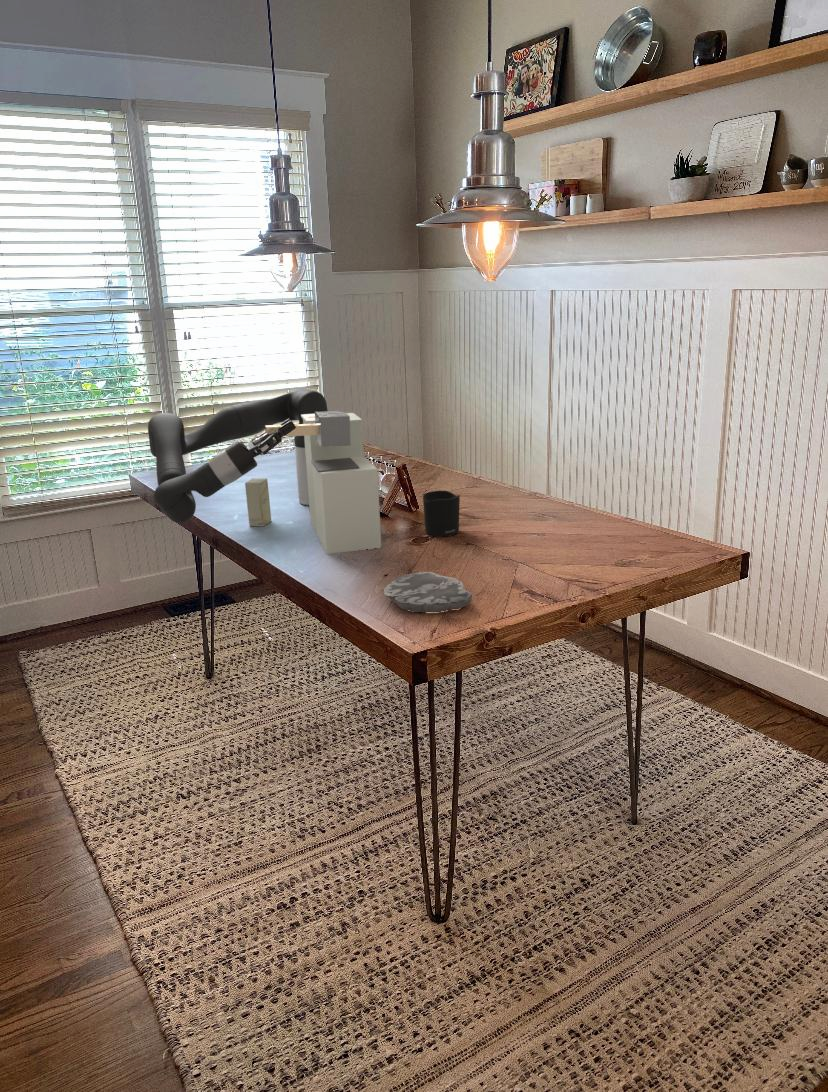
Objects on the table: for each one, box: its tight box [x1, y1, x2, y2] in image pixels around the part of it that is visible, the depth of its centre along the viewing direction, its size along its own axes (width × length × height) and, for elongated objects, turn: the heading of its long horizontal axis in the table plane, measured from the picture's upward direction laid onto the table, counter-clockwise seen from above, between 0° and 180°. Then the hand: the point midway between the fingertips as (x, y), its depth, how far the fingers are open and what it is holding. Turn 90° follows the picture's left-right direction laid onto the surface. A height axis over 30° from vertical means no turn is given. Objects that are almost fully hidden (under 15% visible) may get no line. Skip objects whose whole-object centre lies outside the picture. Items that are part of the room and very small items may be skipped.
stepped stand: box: [301, 412, 382, 555], centre depth 217 cm, size 14×28×30 cm, turn 15°
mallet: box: [264, 410, 350, 447], centre depth 205 cm, size 20×9×7 cm, turn 105°
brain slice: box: [382, 571, 473, 613], centre depth 175 cm, size 20×17×3 cm
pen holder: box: [422, 490, 461, 537], centre depth 220 cm, size 9×9×10 cm
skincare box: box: [244, 477, 272, 527], centre depth 233 cm, size 6×4×12 cm
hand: (292, 423), depth 204 cm, fingers closed on mallet, 2 cm apart
